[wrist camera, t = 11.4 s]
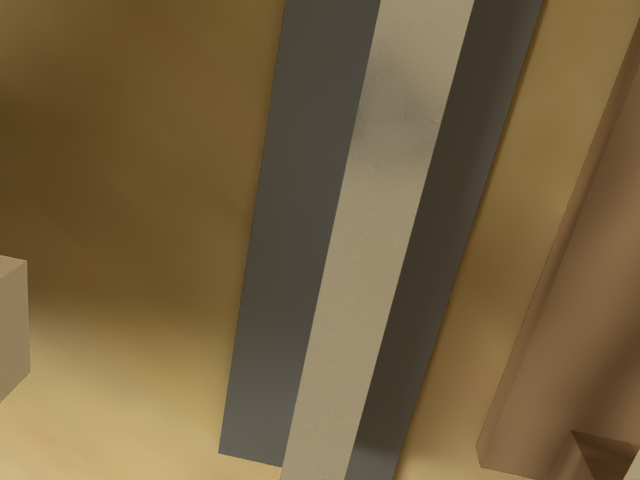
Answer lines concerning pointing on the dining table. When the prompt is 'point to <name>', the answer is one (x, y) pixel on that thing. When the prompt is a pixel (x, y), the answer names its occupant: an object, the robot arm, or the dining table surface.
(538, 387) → the hook rack
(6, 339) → the robot arm
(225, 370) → the dining table surface
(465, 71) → the rubber mat
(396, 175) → the steel rail
